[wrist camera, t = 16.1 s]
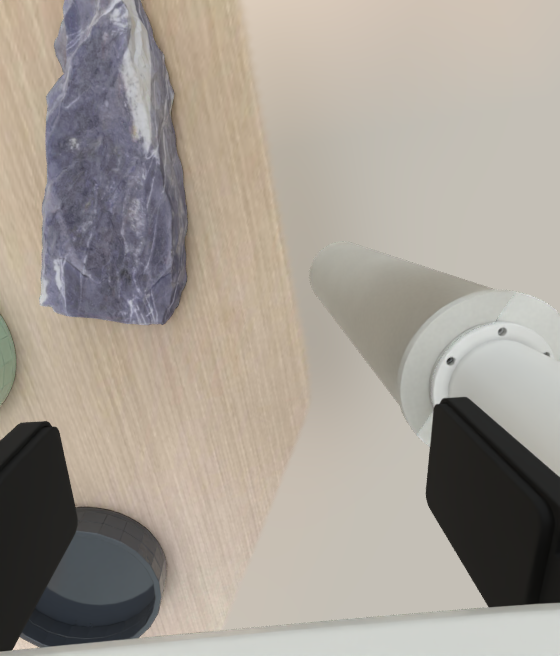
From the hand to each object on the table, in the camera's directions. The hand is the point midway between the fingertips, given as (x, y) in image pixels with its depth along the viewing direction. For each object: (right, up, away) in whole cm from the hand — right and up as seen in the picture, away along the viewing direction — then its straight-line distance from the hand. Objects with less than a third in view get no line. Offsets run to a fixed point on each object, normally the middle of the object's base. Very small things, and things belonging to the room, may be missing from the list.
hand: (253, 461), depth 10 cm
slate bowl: (-20, -23, +33) cm, 45 cm away
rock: (-13, +16, +22) cm, 30 cm away
